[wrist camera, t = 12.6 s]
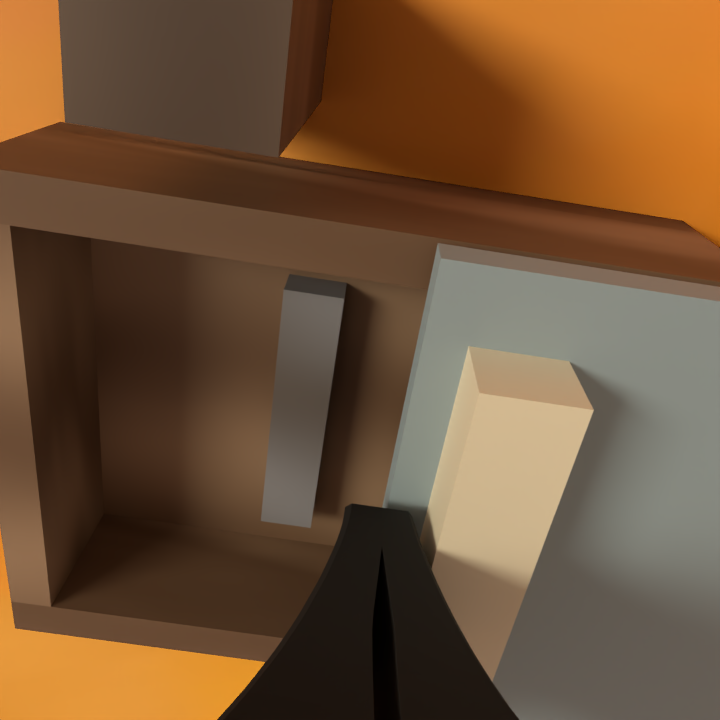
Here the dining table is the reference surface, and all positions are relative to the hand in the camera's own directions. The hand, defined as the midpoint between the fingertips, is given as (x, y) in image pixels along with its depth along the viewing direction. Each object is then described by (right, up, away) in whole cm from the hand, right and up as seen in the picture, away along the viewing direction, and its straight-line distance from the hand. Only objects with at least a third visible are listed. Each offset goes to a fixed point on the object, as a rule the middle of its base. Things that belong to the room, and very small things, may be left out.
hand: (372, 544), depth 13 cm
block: (-2, +11, +1) cm, 11 cm away
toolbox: (-1, +3, +5) cm, 6 cm away
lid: (+8, -1, +1) cm, 8 cm away
